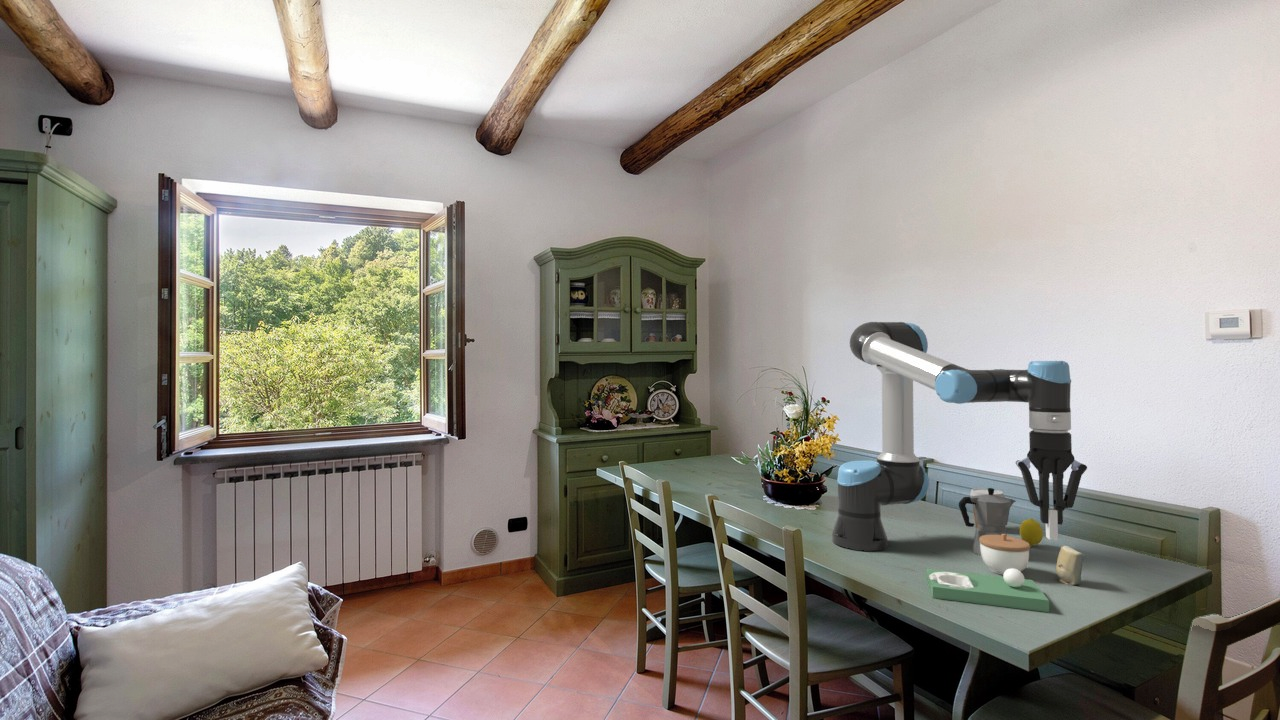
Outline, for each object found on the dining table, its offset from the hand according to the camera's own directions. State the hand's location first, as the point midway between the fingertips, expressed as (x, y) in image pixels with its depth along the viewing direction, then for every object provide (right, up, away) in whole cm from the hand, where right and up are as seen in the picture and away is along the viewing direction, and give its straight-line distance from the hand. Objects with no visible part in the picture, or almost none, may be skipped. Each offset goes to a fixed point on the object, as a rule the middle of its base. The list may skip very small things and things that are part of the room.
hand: (1051, 538), depth 126 cm
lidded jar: (+2, -14, +19) cm, 24 cm away
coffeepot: (+5, -14, +32) cm, 36 cm away
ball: (-7, -10, +3) cm, 12 cm away
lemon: (+21, -14, +38) cm, 46 cm away
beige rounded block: (+13, -14, +11) cm, 22 cm away
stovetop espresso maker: (+19, -14, +55) cm, 60 cm away
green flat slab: (-12, -14, +5) cm, 19 cm away
